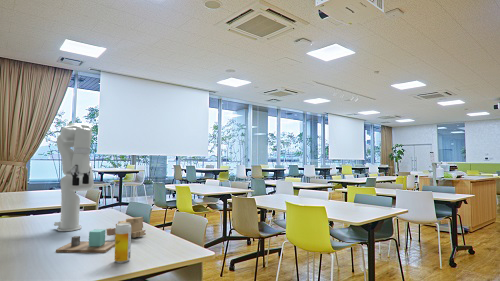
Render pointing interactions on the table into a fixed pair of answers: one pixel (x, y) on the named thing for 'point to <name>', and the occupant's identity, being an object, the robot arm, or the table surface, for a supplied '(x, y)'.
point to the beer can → (122, 242)
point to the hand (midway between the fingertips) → (80, 184)
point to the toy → (135, 227)
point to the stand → (84, 246)
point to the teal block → (97, 237)
